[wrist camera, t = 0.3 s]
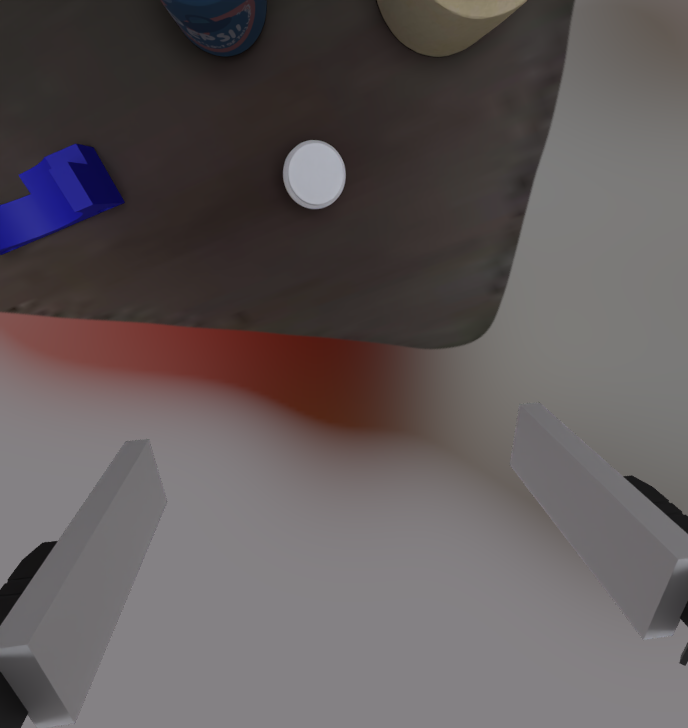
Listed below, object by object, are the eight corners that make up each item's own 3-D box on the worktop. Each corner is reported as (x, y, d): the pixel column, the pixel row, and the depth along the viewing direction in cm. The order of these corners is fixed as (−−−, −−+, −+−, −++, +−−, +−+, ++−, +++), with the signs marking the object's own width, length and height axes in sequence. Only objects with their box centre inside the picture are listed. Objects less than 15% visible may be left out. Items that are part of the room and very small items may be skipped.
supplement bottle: (303, 217, 36) (304, 223, 29) (274, 167, 34) (267, 160, 27) (348, 188, 36) (361, 187, 28) (320, 136, 34) (327, 120, 26)
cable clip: (94, 147, 33) (53, 138, 27) (125, 202, 35) (93, 204, 29) (-34, 203, 33) (-99, 205, 28) (4, 254, 35) (-51, 265, 30)
